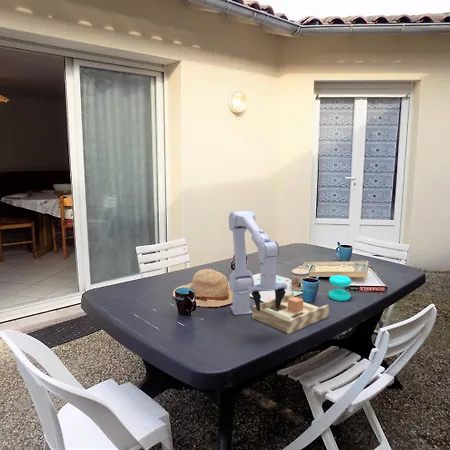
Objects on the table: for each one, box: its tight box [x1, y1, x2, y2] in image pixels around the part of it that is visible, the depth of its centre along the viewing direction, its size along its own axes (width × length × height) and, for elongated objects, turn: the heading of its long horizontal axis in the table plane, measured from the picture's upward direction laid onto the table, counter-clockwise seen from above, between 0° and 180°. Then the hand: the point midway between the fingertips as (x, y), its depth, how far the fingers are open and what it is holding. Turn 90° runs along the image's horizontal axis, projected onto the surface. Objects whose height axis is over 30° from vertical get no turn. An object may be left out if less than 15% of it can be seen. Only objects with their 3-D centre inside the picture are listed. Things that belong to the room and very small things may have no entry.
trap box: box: [251, 292, 330, 335], centre depth 162 cm, size 25×20×5 cm
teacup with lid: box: [290, 265, 310, 292], centre depth 196 cm, size 12×9×12 cm
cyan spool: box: [328, 274, 352, 302], centre depth 184 cm, size 10×10×10 cm
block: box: [288, 296, 304, 312], centre depth 164 cm, size 4×4×4 cm
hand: (267, 309), depth 145 cm, fingers open, 7 cm apart
